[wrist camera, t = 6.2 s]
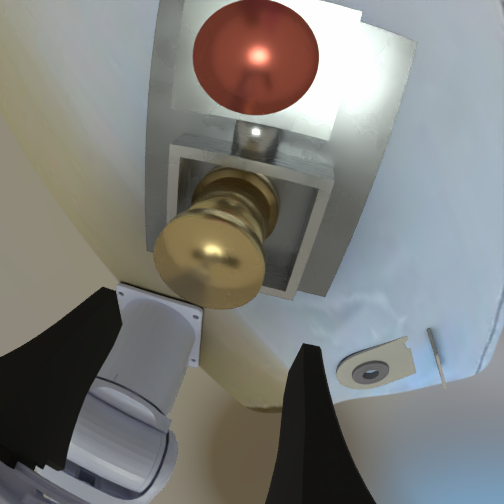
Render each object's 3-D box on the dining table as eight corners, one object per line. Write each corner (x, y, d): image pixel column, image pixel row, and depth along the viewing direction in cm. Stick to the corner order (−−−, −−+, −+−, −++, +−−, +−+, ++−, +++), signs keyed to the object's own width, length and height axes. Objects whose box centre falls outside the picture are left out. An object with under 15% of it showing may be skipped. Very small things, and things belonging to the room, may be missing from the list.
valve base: (325, 289, 22) (321, 367, 17) (151, 244, 23) (107, 308, 17) (415, 33, 11) (472, 29, 6) (168, -13, 12) (95, -31, 7)
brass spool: (271, 247, 20) (254, 319, 15) (194, 230, 20) (156, 294, 15) (287, 174, 17) (273, 234, 12) (199, 156, 17) (150, 208, 12)
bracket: (325, 357, 27) (323, 389, 25) (430, 323, 23) (438, 356, 20) (350, 387, 30) (349, 415, 27) (441, 360, 26) (447, 389, 23)
